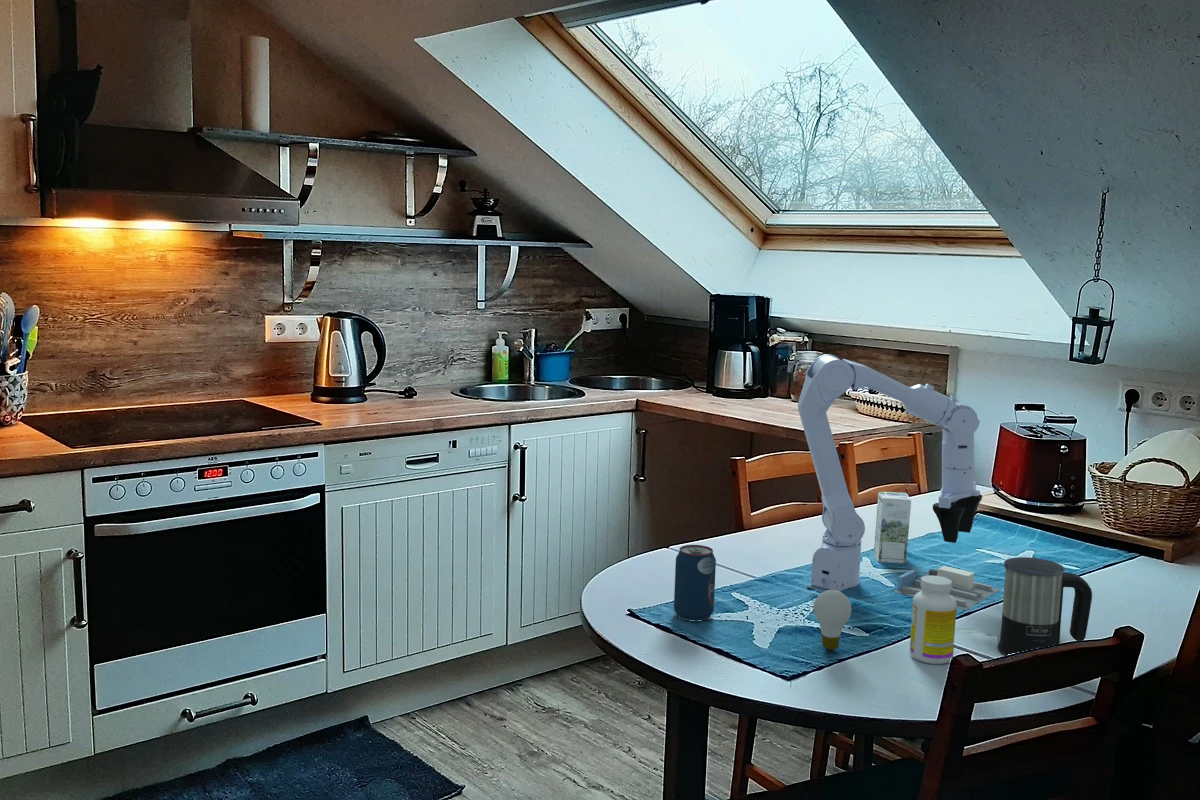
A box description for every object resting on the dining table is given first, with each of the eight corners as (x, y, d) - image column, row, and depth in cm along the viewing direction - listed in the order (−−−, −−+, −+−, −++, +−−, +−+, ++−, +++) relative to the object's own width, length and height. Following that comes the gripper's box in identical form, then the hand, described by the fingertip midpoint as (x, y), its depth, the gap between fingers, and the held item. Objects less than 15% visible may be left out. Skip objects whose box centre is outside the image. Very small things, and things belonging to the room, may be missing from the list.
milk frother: (1020, 666, 169) (1028, 575, 167) (960, 630, 184) (967, 546, 182) (1095, 658, 173) (1105, 569, 171) (1031, 624, 188) (1039, 542, 186)
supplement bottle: (961, 661, 171) (968, 583, 169) (931, 668, 167) (938, 589, 166) (929, 646, 176) (935, 571, 175) (900, 653, 173) (905, 576, 171)
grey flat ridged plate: (965, 615, 192) (966, 596, 191) (892, 596, 201) (893, 578, 200) (1000, 594, 204) (1001, 576, 203) (929, 577, 213) (930, 560, 212)
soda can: (718, 622, 185) (721, 554, 183) (679, 624, 184) (682, 556, 182) (706, 608, 192) (709, 543, 190) (668, 610, 190) (671, 544, 189)
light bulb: (843, 643, 177) (847, 585, 175) (852, 657, 171) (856, 597, 169) (807, 643, 177) (811, 584, 175) (815, 657, 171) (819, 596, 169)
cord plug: (967, 591, 202) (968, 576, 201) (926, 581, 207) (927, 566, 206) (973, 588, 204) (974, 572, 203) (932, 578, 209) (933, 563, 208)
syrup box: (901, 559, 224) (906, 491, 222) (906, 568, 218) (911, 498, 216) (873, 558, 225) (877, 490, 222) (877, 566, 219) (882, 497, 217)
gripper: (965, 476, 194) (965, 549, 196) (992, 460, 205) (991, 530, 207) (927, 472, 198) (927, 544, 200) (955, 457, 210) (955, 525, 212)
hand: (957, 536), depth 204 cm, fingers open, 7 cm apart
